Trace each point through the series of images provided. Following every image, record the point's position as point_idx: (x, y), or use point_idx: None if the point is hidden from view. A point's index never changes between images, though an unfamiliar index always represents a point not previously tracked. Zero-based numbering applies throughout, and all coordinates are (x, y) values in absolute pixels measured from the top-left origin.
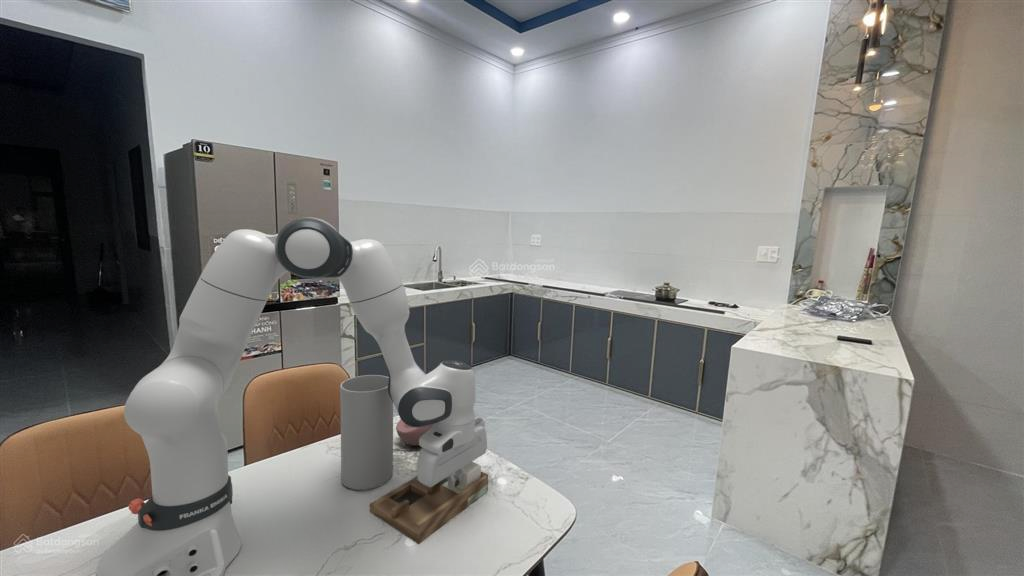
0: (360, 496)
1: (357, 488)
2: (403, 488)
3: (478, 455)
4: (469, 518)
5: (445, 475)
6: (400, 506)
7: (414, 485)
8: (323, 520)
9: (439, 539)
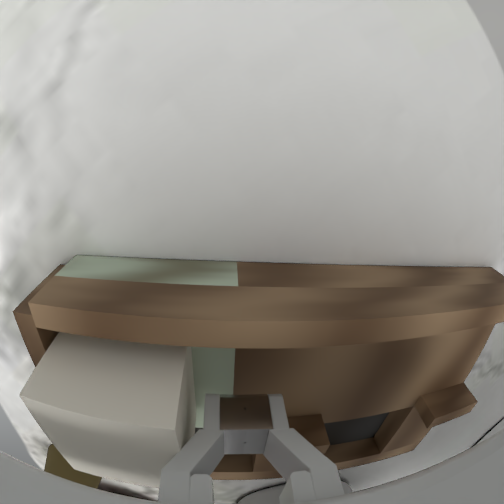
0: (359, 470)
1: (349, 486)
2: None
3: (8, 475)
4: (314, 191)
5: (443, 484)
6: (460, 409)
7: None
8: (438, 442)
9: (467, 224)
